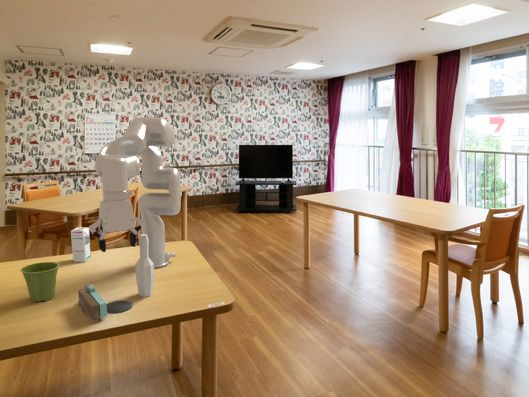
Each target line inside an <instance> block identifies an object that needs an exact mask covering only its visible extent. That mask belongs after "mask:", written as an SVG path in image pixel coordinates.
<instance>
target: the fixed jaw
mask: <svg viewBox="0 0 529 397" xmlns="http://www.w3.org/2000/svg"><path fill="white" fill-rule="evenodd" d="M90 286H94V287H95V285H94V284H86V285H84V286H83V288H81V289H77V294H78V298H77V305H78V306H79V307H80V309H81V310H82V311H83V312H84V314H85V316H86V317H87V318H88V320H89V321H90V322H91V324H96V323H99V322H100V316H99V305H98V304H97V303H96V301H95V300H94V299H93V298H92V297H91V296H90V294H89V293H88V291H89V290H88V287H90Z"/></svg>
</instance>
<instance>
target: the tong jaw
mask: <svg viewBox="0 0 529 397" xmlns="http://www.w3.org/2000/svg"><path fill="white" fill-rule="evenodd" d="M88 290H89V291H88V293H89V294H90V296H91V297H92V298H93V299H94V300H95V301H96V303H97V304H98V305H99V319H100V318H105V317H108V313H107V304H108V303H107V301H106V300H105V299H104V298H103V297H102V296H101V295H100V294H99V293H98V292H97V291H96V287H95V285H94V286H90V287H88Z"/></svg>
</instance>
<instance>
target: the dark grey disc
mask: <svg viewBox="0 0 529 397" xmlns="http://www.w3.org/2000/svg"><path fill="white" fill-rule="evenodd" d="M132 307H133V303H132V302H131V301H129V300H115V301H110V302H109V303H107V314H108V313H109V314H120V313H124V312H127V311H129V310H131V309H132Z"/></svg>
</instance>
